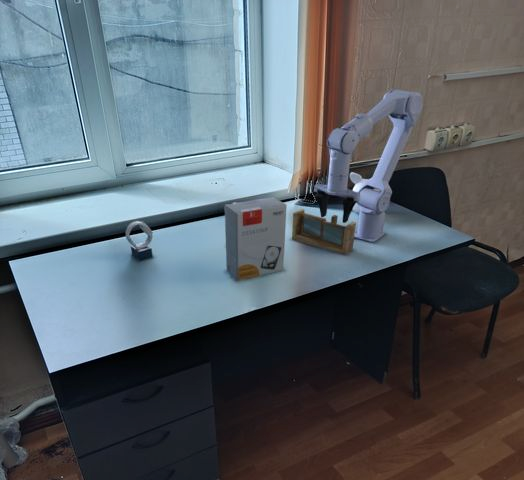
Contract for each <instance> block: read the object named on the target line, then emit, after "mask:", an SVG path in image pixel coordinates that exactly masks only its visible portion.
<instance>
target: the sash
mask: <svg viewBox="0 0 524 480" xmlns="http://www.w3.org/2000/svg"><path fill="white" fill-rule="evenodd" d="M338 217H339V216H338V215H337V214H333V215H331V219H330V221H327V220H326V221H321V229H320V241H323V242H326V243H330V244H333V245H337V246H340V247H343V240H344V231H345V226H346V225H342V224H338Z"/></svg>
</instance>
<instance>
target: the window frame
mask: <svg viewBox="0 0 524 480" xmlns="http://www.w3.org/2000/svg"><path fill="white" fill-rule="evenodd" d="M321 221H327V218H326V217H321V216H318V215H315V214H314V215H313V214H310V213H306V212H305V209H304V208H301V209H298V210H296V211H295V212H293V213H292V229H291V230H292V232H291V240H292V241H295V242H299V243H302V244H306V245H308V246H313V247H316V248H320V249H323V250H325V251H326V250H327V251H330V252H333V253H337V254H341V255H343V256H346V255H348V254H349V253H350V252H351V251H353V249H354V242H355V238H354V235H355V233H356V225H357V222H356V221H355V222H354V221H352V222H350V223H348V224H347V225H344V226H345V231H344V240H343V247H340V246H337V245H333V244H330V243H326V242H323V241H320V229H321Z"/></svg>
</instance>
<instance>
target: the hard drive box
mask: <svg viewBox="0 0 524 480" xmlns="http://www.w3.org/2000/svg"><path fill="white" fill-rule="evenodd" d="M286 222H287V204H286V203H285V202H283V201H281V200H279V199H278V198H276V197H274V196H272V197H265V198H259V199H252V200H247V201H240V202H239V201H238V202H233V203H228V204H224V228H225V229H224V231H225V258H226V259H225V260H226V261H225V262H226V264H225V265H226V268H225V269H226V272H227V273H228V274H229V275H230V276H231V277H232V278H234V280H235V281H236V282H238V281H241V280H249V279H252V278H256V277H260V276H265V275H269V274H270V275H272V274H275V273H278V272H283V271H284V263H285V244H286V226H287V225H286V224H287V223H286Z"/></svg>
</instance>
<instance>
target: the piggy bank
mask: <svg viewBox="0 0 524 480" xmlns="http://www.w3.org/2000/svg"><path fill="white" fill-rule="evenodd" d="M349 179H350V181H351V182H352V183H353V184H354V186H353V188H352V190H353V191H355V192H358V191H359V190H360V189H361V187H362V186H363V184H364V182H365V181H366V180H368V179H369V178H363V177H362V175H360V174H359V173H356V172H353V171H351V172H350V173H349ZM374 190H377V191H380V192H381V190H378V189H374ZM352 211H353V212H354V213H356V214H357V215H359V214H360V209H359V205H358V204H357V203H356V204H355V205H354V207H353V209H352Z"/></svg>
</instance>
